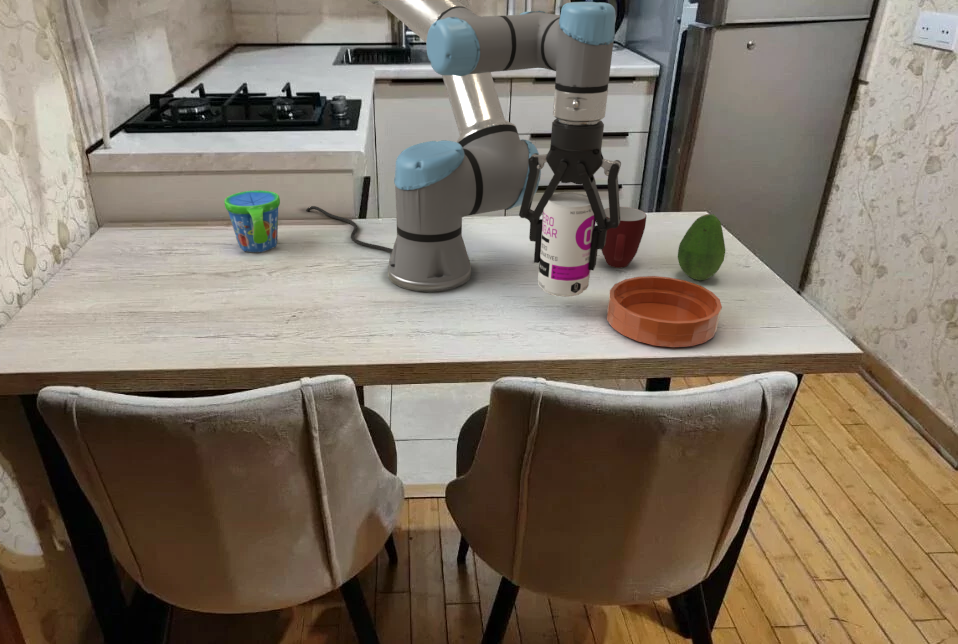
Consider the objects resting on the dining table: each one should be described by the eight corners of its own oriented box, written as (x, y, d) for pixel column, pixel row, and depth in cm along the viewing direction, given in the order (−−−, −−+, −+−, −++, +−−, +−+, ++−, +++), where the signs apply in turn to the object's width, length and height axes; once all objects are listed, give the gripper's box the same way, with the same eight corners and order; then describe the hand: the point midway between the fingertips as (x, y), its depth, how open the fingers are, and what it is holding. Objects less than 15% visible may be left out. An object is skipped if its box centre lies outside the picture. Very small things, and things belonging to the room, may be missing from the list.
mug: (643, 279, 132) (651, 227, 127) (598, 277, 133) (604, 225, 128) (636, 256, 141) (643, 207, 136) (594, 255, 142) (600, 205, 137)
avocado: (714, 270, 135) (727, 208, 129) (723, 288, 128) (737, 223, 122) (670, 268, 136) (681, 206, 130) (676, 285, 129) (688, 221, 123)
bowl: (592, 332, 114) (595, 307, 112) (624, 292, 127) (627, 268, 125) (702, 359, 107) (708, 333, 105) (725, 314, 120) (730, 289, 117)
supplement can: (597, 287, 120) (607, 198, 112) (569, 303, 115) (578, 211, 107) (556, 273, 125) (563, 188, 117) (527, 288, 120) (533, 200, 112)
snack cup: (232, 235, 152) (225, 187, 147) (283, 231, 154) (277, 184, 149) (230, 264, 139) (223, 212, 133) (286, 259, 140) (281, 208, 135)
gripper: (502, 119, 106) (496, 263, 118) (649, 130, 100) (627, 281, 111) (515, 109, 112) (507, 247, 124) (654, 119, 106) (633, 263, 117)
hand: (564, 263), depth 118 cm, fingers closed on supplement can, 8 cm apart
